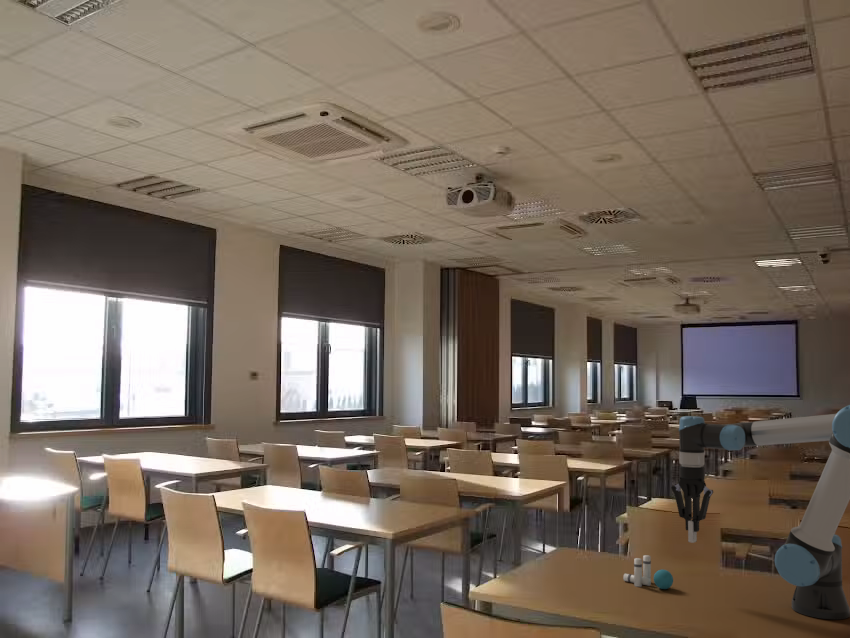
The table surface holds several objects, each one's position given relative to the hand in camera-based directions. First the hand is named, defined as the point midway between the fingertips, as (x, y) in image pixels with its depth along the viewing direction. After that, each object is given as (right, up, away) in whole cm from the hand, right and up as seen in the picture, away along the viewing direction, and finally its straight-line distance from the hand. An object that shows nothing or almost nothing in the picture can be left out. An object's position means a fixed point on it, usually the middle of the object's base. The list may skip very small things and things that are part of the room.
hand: (692, 541), depth 238 cm
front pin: (-11, -16, +9) cm, 21 cm away
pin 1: (-15, -17, +8) cm, 24 cm away
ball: (-7, -14, +6) cm, 17 cm away
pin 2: (-11, -17, +13) cm, 24 cm away
